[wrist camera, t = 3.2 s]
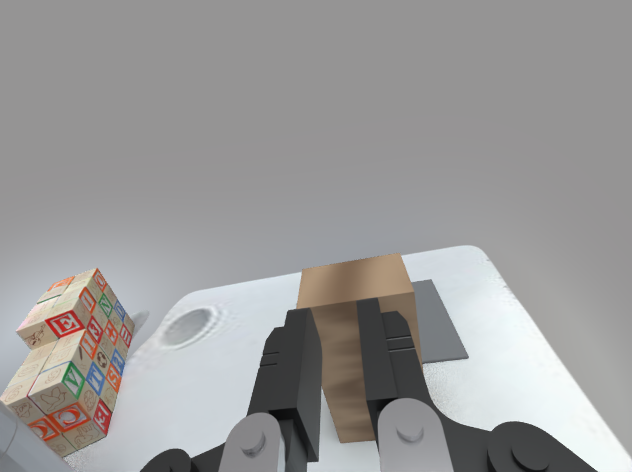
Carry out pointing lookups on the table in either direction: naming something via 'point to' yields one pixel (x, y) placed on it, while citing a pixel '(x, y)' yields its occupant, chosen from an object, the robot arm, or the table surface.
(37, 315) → the stack of blocks
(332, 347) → the walnut block
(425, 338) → the mat
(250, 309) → the table surface
